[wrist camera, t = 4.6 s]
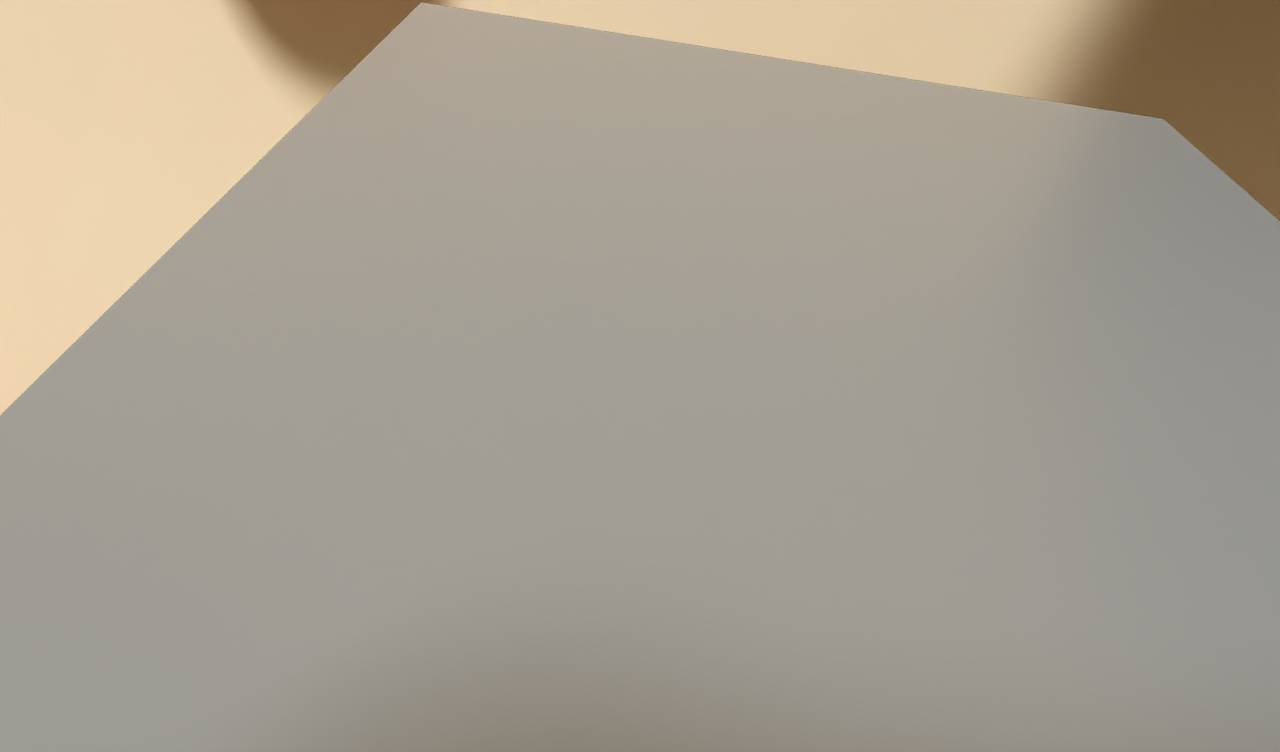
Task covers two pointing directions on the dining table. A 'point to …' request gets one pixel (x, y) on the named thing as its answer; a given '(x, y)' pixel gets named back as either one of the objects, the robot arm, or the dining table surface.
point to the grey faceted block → (664, 427)
